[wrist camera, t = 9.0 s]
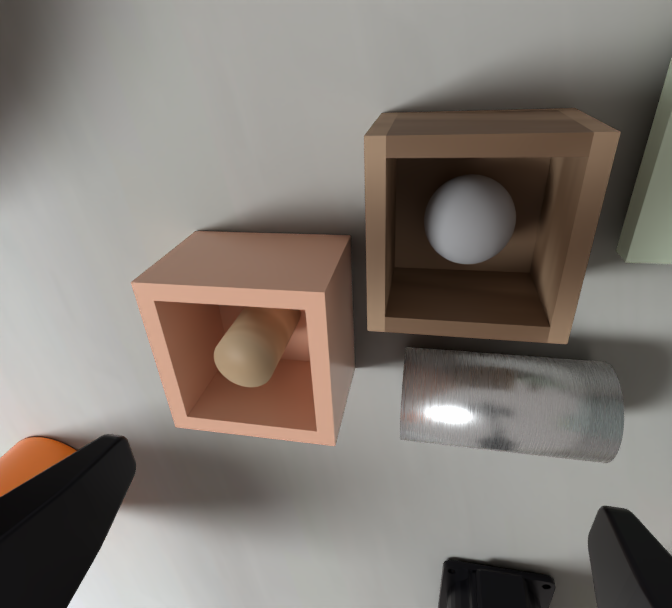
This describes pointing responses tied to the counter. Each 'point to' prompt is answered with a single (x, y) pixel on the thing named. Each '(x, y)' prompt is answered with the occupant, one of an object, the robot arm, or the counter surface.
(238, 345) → the wooden peg
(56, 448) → the shaker bottle
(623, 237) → the lid
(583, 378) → the lying can
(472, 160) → the walnut box
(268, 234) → the terracotta box
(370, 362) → the counter surface
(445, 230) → the grey ball
